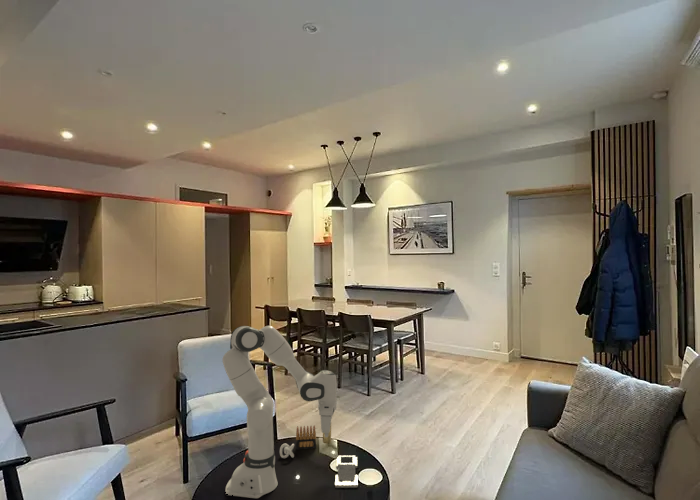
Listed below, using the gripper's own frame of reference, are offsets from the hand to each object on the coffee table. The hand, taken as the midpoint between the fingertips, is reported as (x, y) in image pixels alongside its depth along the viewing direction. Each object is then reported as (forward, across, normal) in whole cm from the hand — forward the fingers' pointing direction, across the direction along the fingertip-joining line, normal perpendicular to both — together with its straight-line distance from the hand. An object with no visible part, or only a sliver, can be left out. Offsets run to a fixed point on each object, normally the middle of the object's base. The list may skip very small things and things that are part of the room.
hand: (326, 433), depth 190 cm
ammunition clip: (+18, -21, -12) cm, 30 cm away
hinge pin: (+4, 0, 0) cm, 4 cm away
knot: (+18, -13, -20) cm, 30 cm away
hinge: (+17, +3, +10) cm, 20 cm away
